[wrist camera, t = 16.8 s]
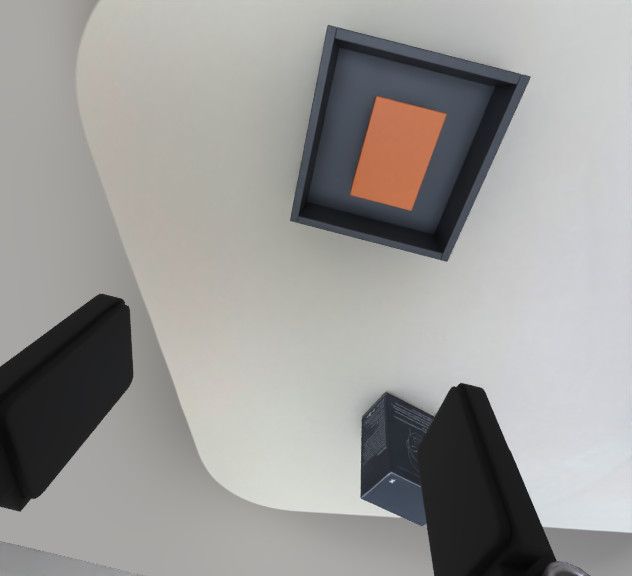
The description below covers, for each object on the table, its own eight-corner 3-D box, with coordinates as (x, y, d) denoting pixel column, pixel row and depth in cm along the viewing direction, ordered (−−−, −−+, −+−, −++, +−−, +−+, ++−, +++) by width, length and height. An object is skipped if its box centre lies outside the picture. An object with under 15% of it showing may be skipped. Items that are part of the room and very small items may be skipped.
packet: (351, 184, 31) (349, 195, 28) (375, 96, 28) (376, 95, 24) (406, 198, 31) (411, 211, 28) (437, 111, 28) (447, 113, 24)
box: (360, 417, 45) (358, 499, 36) (386, 390, 43) (390, 471, 33) (411, 443, 46) (422, 529, 37) (439, 418, 44) (458, 505, 34)
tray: (300, 204, 33) (289, 221, 29) (334, 37, 27) (327, 24, 22) (436, 239, 33) (447, 261, 29) (503, 80, 27) (531, 76, 22)
